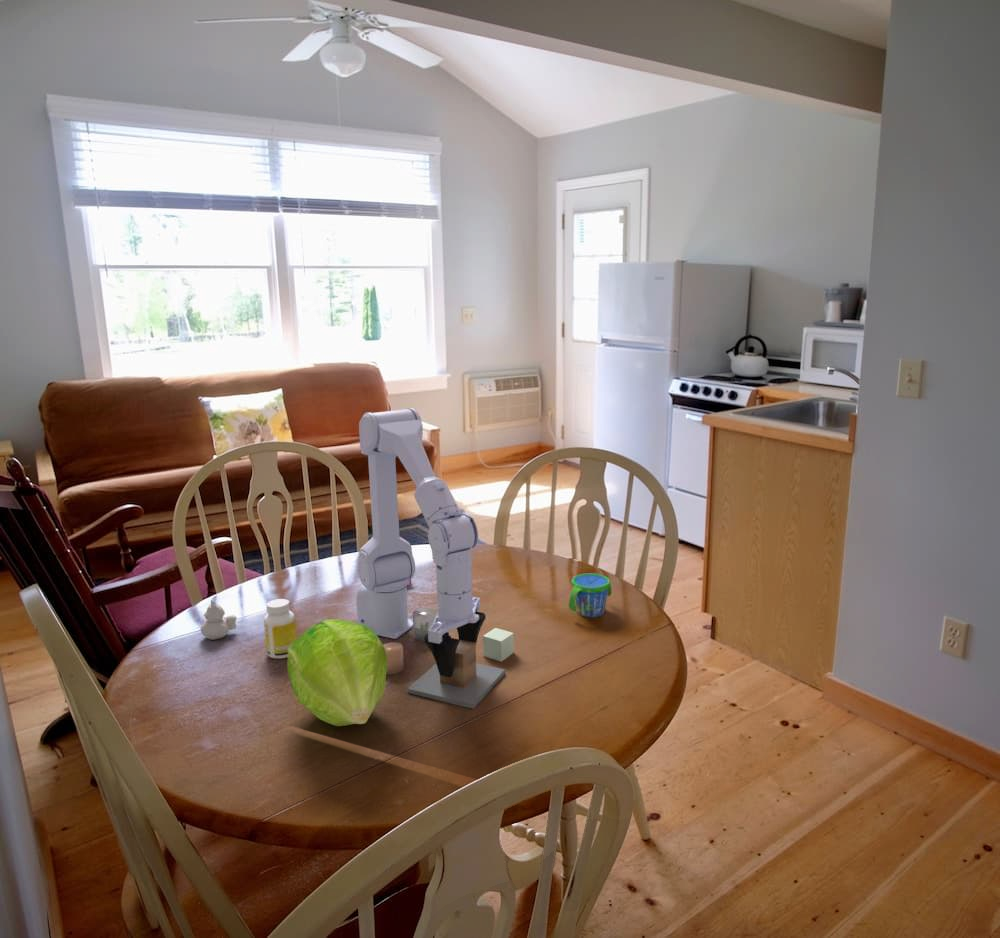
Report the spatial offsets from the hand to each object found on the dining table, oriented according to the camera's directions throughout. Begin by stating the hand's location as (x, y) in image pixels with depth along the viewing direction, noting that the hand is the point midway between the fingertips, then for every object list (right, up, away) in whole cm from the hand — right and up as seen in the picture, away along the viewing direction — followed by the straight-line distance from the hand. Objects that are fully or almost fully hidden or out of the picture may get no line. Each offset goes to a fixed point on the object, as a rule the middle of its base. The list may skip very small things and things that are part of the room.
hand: (457, 664), depth 120 cm
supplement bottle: (-33, -1, +13) cm, 35 cm away
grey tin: (-7, 0, +18) cm, 19 cm away
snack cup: (+26, +3, +27) cm, 37 cm away
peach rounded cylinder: (-12, -2, +6) cm, 13 cm away
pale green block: (+7, -1, +11) cm, 13 cm away
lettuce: (-16, -6, -11) cm, 21 cm away
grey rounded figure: (-47, 0, +19) cm, 51 cm away
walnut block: (0, -3, +1) cm, 3 cm away
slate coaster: (0, -3, +1) cm, 3 cm away
